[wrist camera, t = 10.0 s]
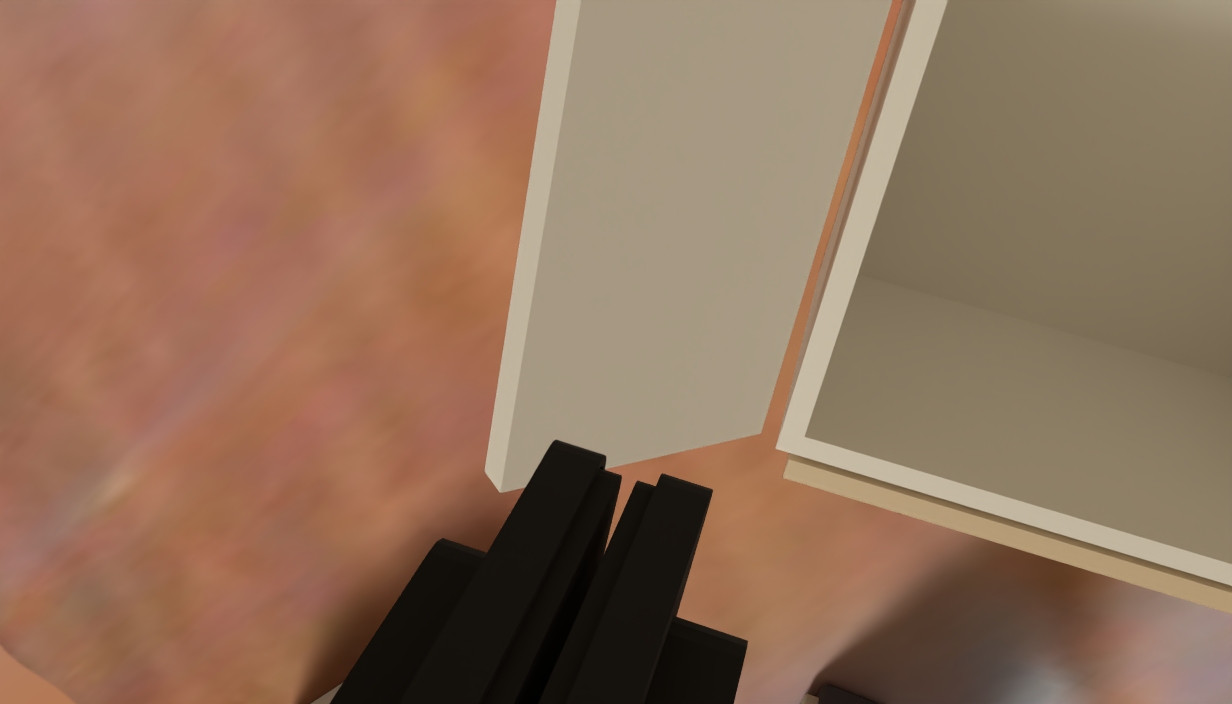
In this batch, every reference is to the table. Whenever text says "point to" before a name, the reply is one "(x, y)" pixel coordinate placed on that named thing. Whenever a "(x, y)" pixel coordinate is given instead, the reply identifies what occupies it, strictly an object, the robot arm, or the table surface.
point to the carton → (1037, 289)
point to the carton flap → (672, 220)
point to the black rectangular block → (833, 697)
